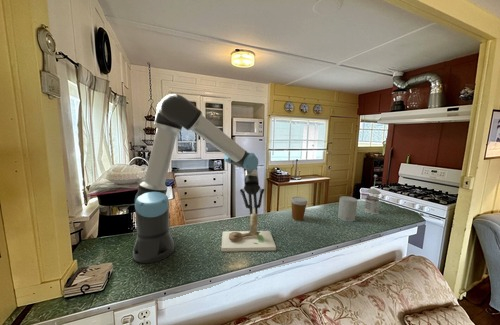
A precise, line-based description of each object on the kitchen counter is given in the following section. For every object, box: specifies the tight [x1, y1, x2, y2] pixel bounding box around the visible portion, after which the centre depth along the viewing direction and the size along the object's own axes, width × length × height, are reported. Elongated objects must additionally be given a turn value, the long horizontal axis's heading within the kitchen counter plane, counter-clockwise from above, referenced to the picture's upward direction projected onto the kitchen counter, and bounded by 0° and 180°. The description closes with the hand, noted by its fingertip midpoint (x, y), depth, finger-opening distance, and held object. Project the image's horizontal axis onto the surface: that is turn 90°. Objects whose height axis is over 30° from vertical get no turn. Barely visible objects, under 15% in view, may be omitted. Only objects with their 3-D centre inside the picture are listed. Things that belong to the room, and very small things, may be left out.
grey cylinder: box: [337, 195, 358, 223], centre depth 120 cm, size 10×10×12 cm
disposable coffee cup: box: [290, 196, 308, 222], centre depth 117 cm, size 10×10×12 cm
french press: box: [362, 174, 382, 215], centre depth 130 cm, size 10×12×25 cm
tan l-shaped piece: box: [229, 213, 260, 241], centre depth 91 cm, size 15×6×10 cm, turn 109°
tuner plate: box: [220, 230, 277, 252], centre depth 91 cm, size 23×14×2 cm, turn 95°
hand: (254, 221), depth 95 cm, fingers closed
